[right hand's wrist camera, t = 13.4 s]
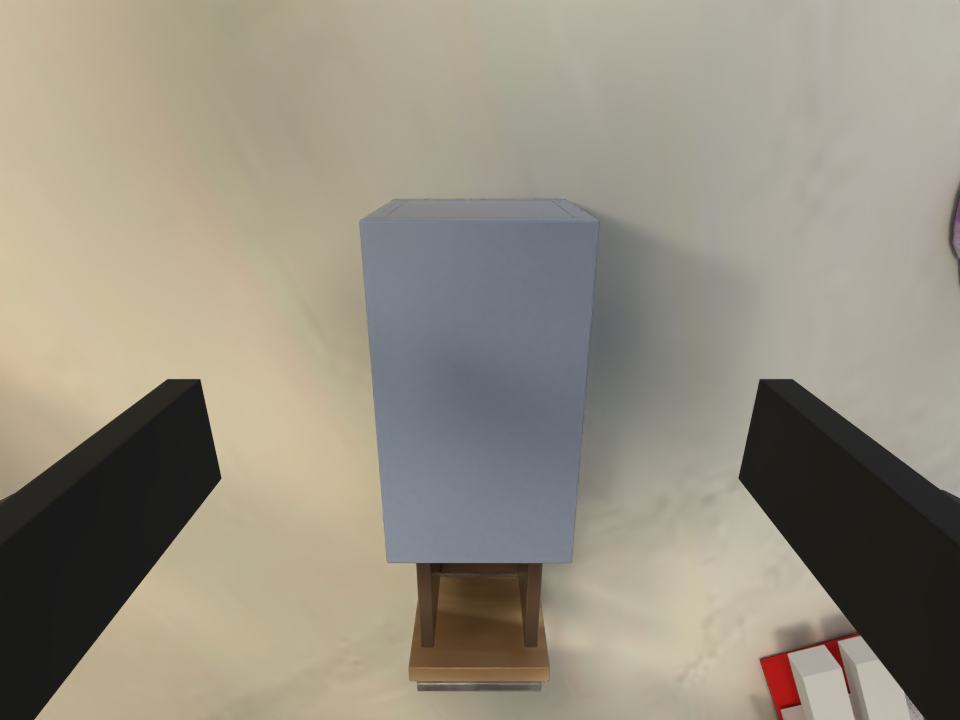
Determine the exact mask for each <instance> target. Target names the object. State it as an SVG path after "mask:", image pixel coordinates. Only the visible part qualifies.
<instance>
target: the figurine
mask: <svg viewBox="0 0 960 720" xmlns="http://www.w3.org/2000/svg"><path fill="white" fill-rule="evenodd" d="M952 244H953V246H954V249H955V251H956V254H957V256H958V258H959V259H960V199H959V203H958V207H957V212H956V216H955V221H954V228H953V240H952Z"/></svg>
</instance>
